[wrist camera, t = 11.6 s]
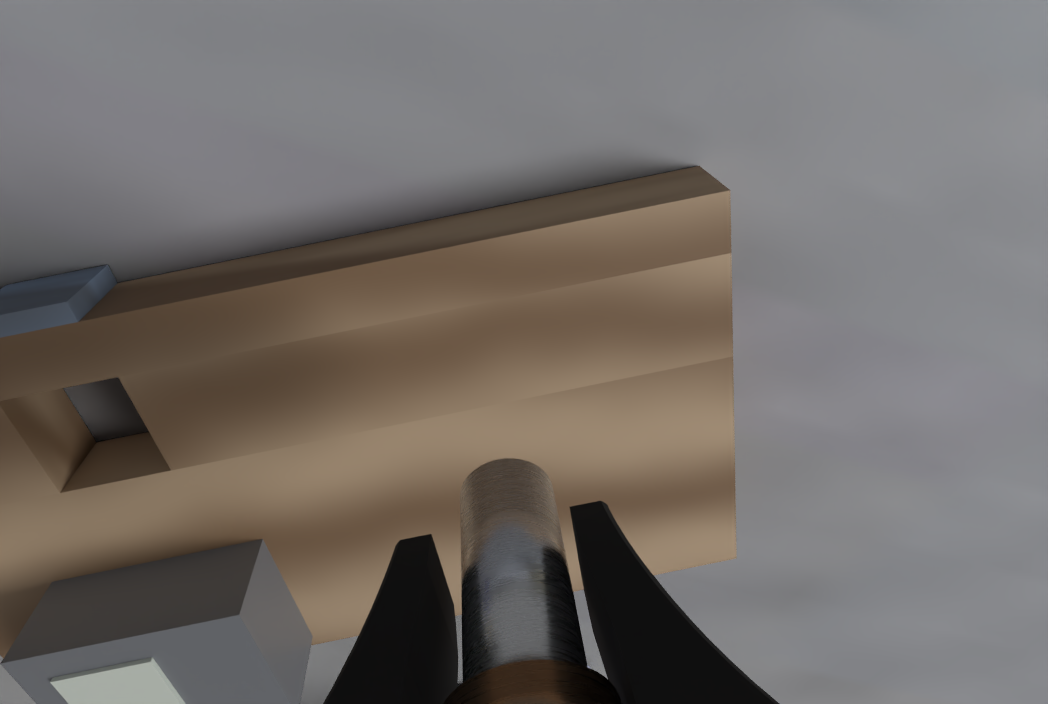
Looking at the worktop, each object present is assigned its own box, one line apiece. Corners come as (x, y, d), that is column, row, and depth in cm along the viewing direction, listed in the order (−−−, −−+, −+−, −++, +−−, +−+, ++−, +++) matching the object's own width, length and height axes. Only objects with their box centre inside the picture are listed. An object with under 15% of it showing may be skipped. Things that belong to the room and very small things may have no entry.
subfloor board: (713, 521, 28) (736, 569, 25) (80, 650, 27) (49, 710, 25) (698, 145, 20) (729, 168, 18) (-181, 322, 20) (-258, 367, 18)
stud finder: (312, 636, 25) (297, 719, 22) (123, 675, 25) (84, 762, 22) (262, 538, 22) (237, 619, 20) (51, 581, 22) (-3, 668, 19)
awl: (578, 529, 15) (662, 901, 9) (456, 553, 15) (459, 940, 9) (562, 431, 14) (648, 794, 8) (427, 457, 14) (409, 839, 8)
